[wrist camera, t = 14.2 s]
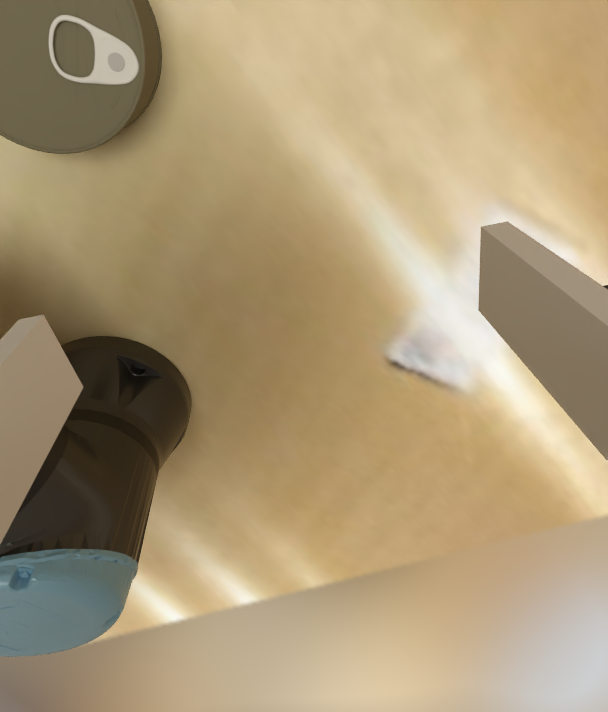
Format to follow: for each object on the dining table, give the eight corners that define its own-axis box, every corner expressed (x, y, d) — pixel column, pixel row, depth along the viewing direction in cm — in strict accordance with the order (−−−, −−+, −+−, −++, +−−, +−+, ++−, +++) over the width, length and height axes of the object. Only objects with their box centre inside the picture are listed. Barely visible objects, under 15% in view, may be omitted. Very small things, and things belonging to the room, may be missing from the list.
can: (-34, -108, 28) (-110, -151, 22) (174, -39, 30) (153, -61, 24) (-15, 112, 34) (-71, 125, 28) (156, 155, 36) (137, 174, 30)
